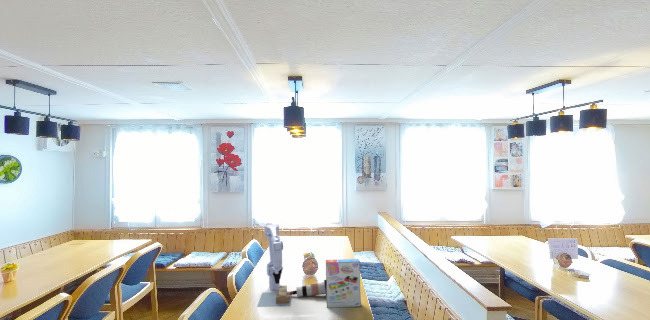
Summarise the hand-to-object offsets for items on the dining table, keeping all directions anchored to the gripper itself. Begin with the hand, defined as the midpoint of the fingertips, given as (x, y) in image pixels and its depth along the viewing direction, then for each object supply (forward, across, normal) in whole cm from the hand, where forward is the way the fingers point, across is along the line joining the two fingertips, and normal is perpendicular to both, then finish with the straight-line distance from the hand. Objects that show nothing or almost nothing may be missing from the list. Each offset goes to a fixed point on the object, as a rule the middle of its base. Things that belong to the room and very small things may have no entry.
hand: (277, 281), depth 212 cm
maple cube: (+5, +8, +4) cm, 10 cm away
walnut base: (+9, +8, +4) cm, 13 cm away
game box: (+10, +16, +41) cm, 45 cm away
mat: (+10, +5, -1) cm, 11 cm away
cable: (+10, +1, +24) cm, 26 cm away
